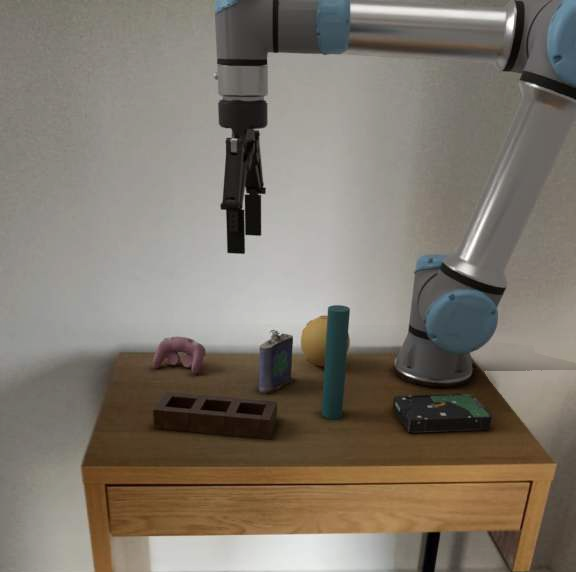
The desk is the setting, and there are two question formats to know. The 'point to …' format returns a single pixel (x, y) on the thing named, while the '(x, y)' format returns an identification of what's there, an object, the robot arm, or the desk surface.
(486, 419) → the disk drive
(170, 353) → the video game controller
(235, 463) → the desk surface
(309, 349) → the stress ball
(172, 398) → the pen block
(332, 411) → the dowel
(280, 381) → the flask
